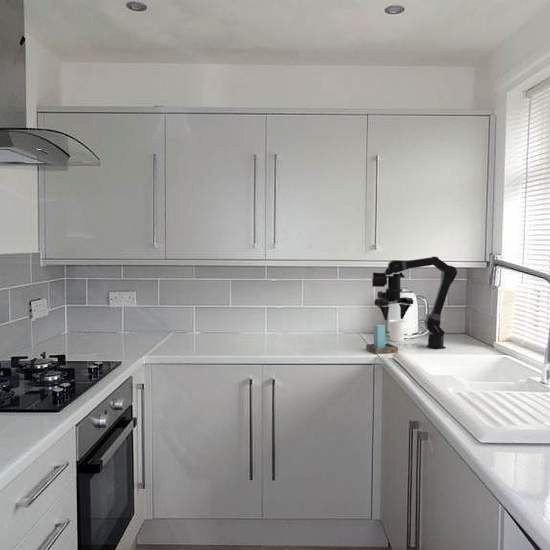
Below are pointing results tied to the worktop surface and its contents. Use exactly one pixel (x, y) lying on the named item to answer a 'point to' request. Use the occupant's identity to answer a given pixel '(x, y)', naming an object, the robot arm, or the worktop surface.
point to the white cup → (396, 330)
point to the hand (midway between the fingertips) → (393, 319)
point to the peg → (379, 336)
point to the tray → (382, 349)
